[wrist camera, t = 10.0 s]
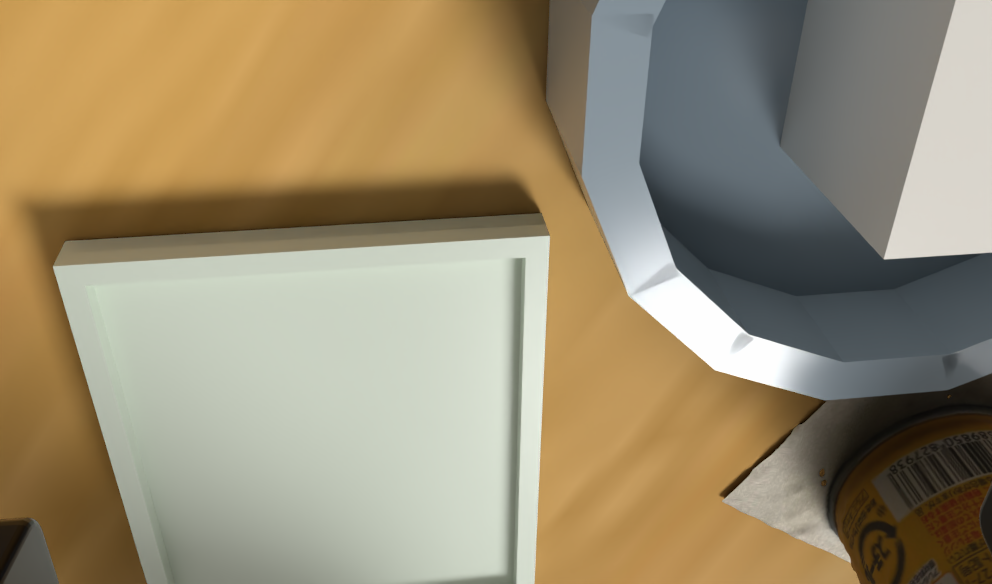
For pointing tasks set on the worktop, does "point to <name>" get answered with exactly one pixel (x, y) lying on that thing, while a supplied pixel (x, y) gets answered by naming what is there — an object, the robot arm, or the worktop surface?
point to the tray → (321, 397)
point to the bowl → (745, 206)
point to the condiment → (886, 484)
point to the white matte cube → (898, 120)
